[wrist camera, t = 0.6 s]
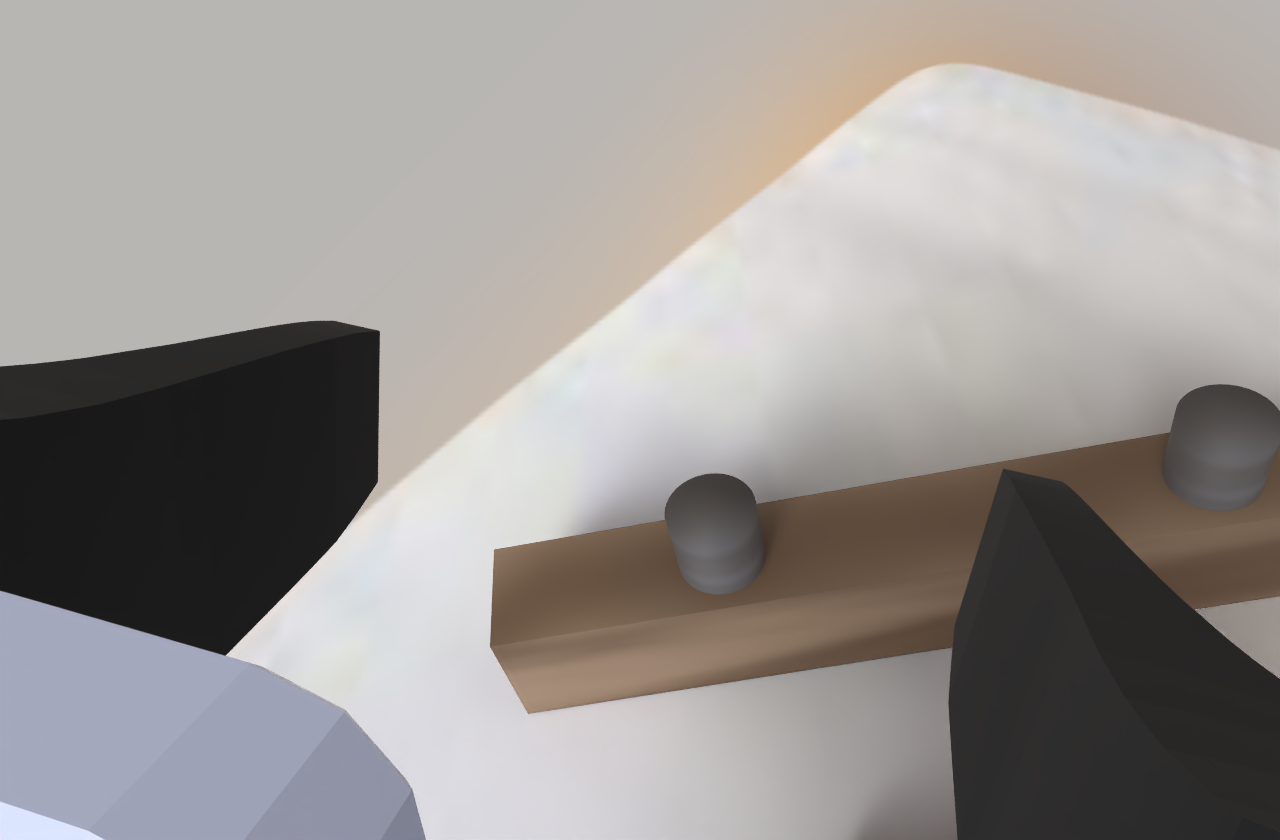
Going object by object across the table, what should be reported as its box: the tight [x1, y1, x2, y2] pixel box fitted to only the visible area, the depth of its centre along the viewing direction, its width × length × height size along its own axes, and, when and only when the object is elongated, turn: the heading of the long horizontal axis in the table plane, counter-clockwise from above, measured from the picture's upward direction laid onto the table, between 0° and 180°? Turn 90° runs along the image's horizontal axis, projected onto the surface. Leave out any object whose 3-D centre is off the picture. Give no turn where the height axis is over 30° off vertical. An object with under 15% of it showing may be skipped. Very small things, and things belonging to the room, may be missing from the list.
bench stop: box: [490, 384, 1280, 714], centre depth 27 cm, size 3×24×6 cm, turn 95°
